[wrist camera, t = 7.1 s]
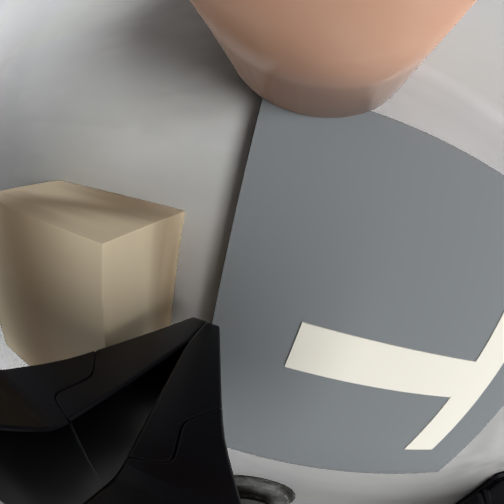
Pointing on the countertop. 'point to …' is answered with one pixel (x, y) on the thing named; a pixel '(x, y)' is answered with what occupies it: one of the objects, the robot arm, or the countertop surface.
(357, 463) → the letter mat
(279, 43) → the terracotta cylinder
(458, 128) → the countertop surface
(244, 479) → the salt shaker
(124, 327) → the maple block
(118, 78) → the countertop surface
